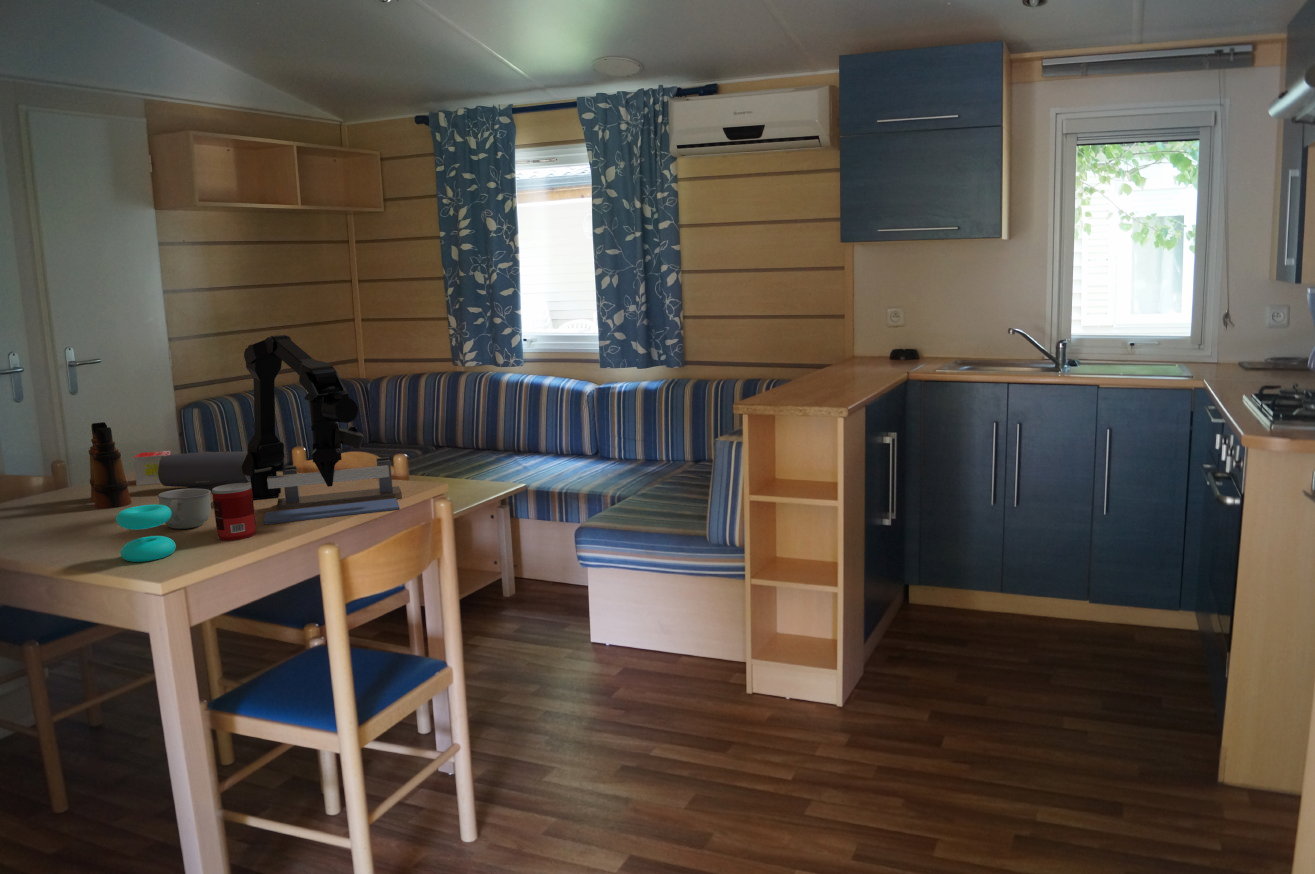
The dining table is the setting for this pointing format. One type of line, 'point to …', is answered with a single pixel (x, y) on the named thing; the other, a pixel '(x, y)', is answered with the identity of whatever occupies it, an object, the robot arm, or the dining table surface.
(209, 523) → the dining table surface
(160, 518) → the donuts
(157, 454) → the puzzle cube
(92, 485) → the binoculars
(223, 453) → the bluetooth speaker
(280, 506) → the stand
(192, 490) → the teacup
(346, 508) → the mat
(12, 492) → the dining table surface
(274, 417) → the robot arm
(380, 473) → the rail
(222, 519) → the canned food
